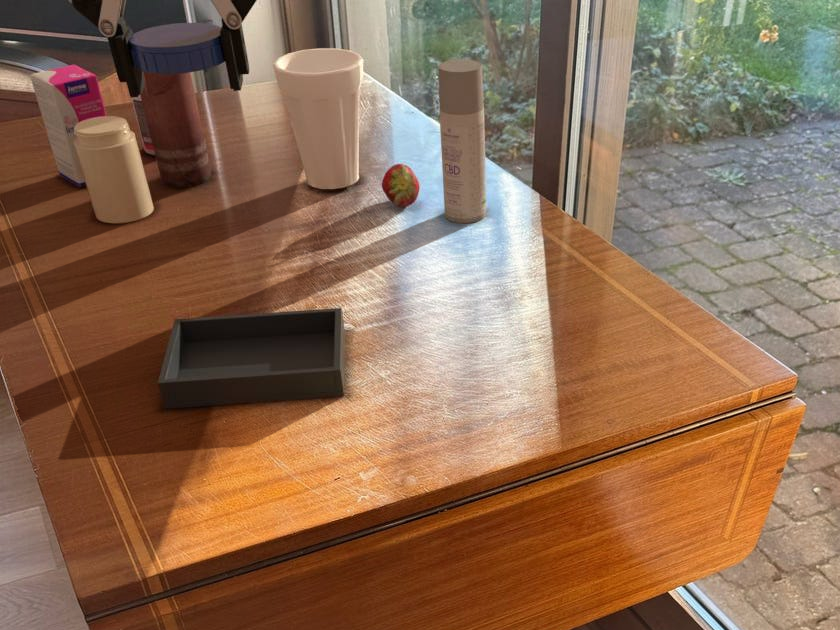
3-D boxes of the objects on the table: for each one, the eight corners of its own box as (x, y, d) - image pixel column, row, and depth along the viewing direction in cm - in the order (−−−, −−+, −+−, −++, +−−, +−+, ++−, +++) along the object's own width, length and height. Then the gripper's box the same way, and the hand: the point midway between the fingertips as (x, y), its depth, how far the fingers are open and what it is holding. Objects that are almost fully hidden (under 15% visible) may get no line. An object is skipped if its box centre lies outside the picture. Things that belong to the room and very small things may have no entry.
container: (441, 222, 109) (433, 72, 98) (448, 205, 112) (441, 58, 101) (483, 223, 108) (479, 72, 98) (489, 206, 111) (486, 58, 101)
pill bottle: (193, 150, 127) (174, 66, 120) (153, 160, 125) (132, 74, 118) (177, 139, 130) (158, 56, 123) (138, 148, 128) (116, 64, 121)
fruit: (417, 193, 115) (414, 148, 111) (423, 213, 111) (420, 167, 107) (381, 196, 115) (377, 151, 111) (386, 216, 110) (381, 170, 107)
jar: (90, 225, 111) (63, 136, 104) (101, 202, 115) (75, 116, 109) (149, 221, 111) (126, 132, 104) (157, 199, 116) (135, 112, 109)
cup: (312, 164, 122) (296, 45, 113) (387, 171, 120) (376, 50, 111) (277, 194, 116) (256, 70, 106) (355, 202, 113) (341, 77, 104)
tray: (165, 409, 83) (157, 383, 81) (181, 344, 91) (174, 318, 89) (344, 396, 84) (340, 370, 82) (345, 332, 92) (341, 307, 90)
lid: (126, 77, 71) (119, 50, 69) (143, 50, 75) (137, 25, 74) (223, 71, 71) (218, 44, 70) (233, 45, 76) (229, 20, 74)
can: (151, 186, 118) (117, 56, 109) (178, 167, 123) (148, 40, 113) (195, 191, 117) (165, 59, 107) (221, 172, 121) (194, 43, 111)
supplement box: (81, 189, 119) (49, 84, 110) (59, 176, 122) (26, 73, 114) (124, 176, 121) (96, 72, 113) (102, 163, 124) (73, 62, 116)
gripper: (261, -235, 65) (304, 67, 77) (-7, -222, 64) (81, 81, 77) (254, -226, 59) (301, 97, 72) (-38, -211, 59) (62, 112, 71)
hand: (187, 86), depth 74 cm, fingers closed on lid, 6 cm apart
